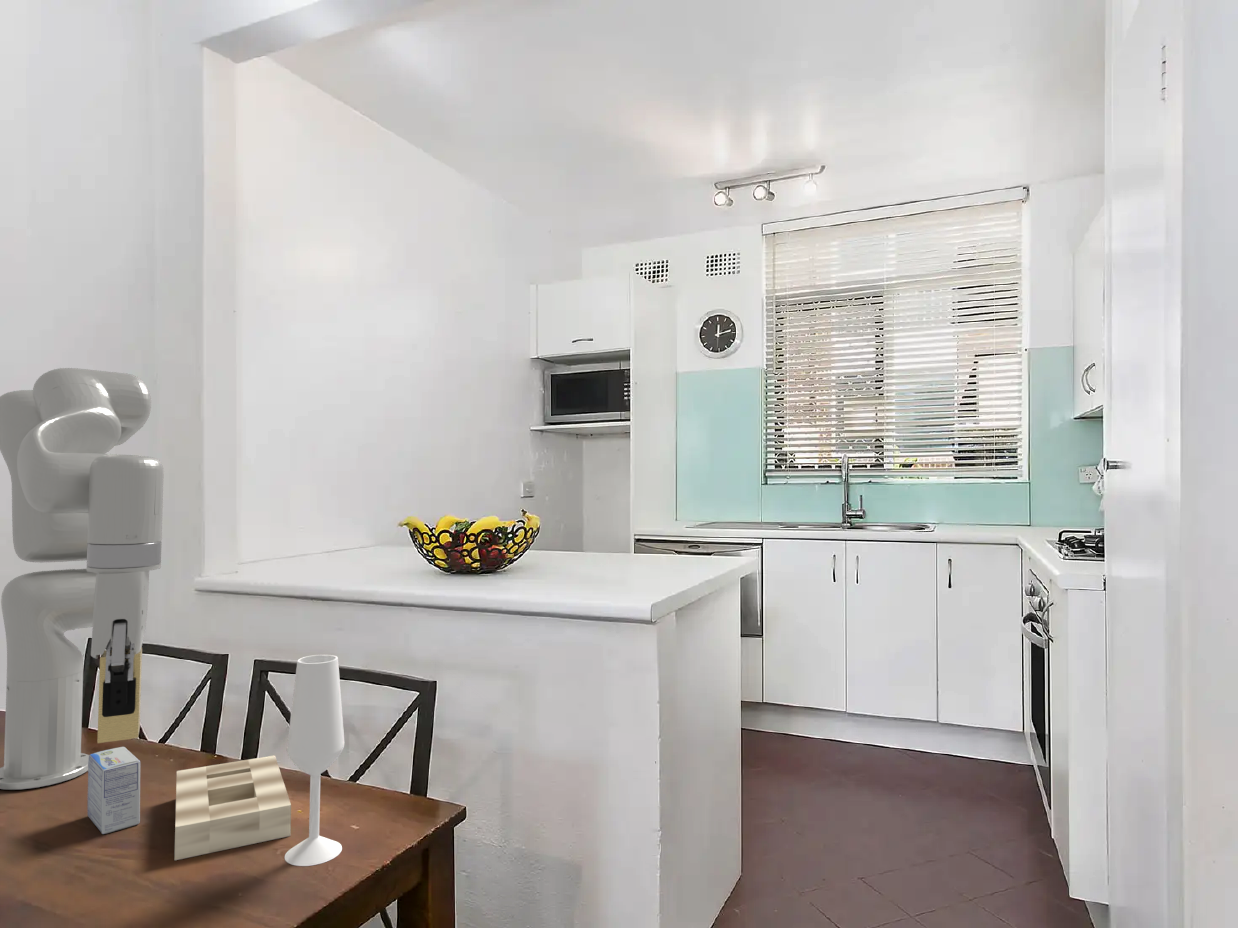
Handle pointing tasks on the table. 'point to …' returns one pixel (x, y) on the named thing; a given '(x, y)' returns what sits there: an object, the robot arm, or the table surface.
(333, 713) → the champagne flute
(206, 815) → the socket block
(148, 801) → the table surface
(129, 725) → the brass peg
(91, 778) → the medicine box
